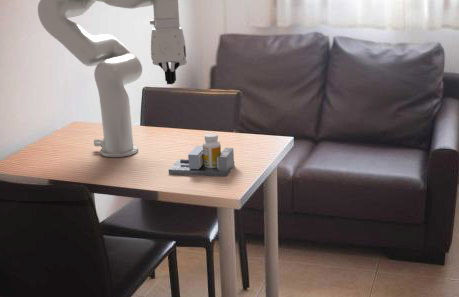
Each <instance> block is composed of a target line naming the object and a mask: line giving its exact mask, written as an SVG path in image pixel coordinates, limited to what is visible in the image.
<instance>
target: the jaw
mask: <svg viewBox="0 0 459 297" xmlns="http://www.w3.org/2000/svg"><path fill="white" fill-rule="evenodd" d="M187 156H188V157H187V159H188V160H182V159H183V158H180V159H181V160H180V163H185V164H189V169H199V168H200V167H201V166H202V165H203V164H204V160H203V145H196V146H195V147H194V148H193V149H191V151H190V152H189V153H188V154H187Z"/></svg>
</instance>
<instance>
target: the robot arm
mask: <svg viewBox="0 0 459 297" xmlns="http://www.w3.org/2000/svg"><path fill="white" fill-rule="evenodd" d="M96 2H102V3H104V4H106V5H108V6H111V7H116V8H123V9H132V10H133V9H138V8H139V9H140V8H144V7H150V6H153V19H150V20H149V24H150V25H153V28H152V29H151V36H150V37H151V39H150V57H151V61H152V65H154V66H157V67H158V66H159V67H160V68H161V69H162V71H163V72H164V80H165V82H166V85H174V84H175V83H176V80H177V74H176V73H177V72H176V70H177V69H178V68H179V67H181V66H184V65H186V64H187V63H188V61H187V48H186V47H187V46H186V41H185V40H186V39H185V36H184V31H183V27H180V13H179V12H180V11H179V7H180V6H179V0H39V2H38V4H37V16H38V19H39V22H40V24H41V26H42V27H43V28H44V29H45V30H46V32H47V33H48V34H49V35H50V36H52V37H53V38H54V39H56V41H58V43H60V44H62V45H63V47H64V48H66V49H67V51H69V52H70V53H71V54H72V55H73V56H74V57H75V58H76V59H77V60H78V61H79V62H81V63H82V64H83V65H84V66H86V67H95V68H94V76H93V77H94V81H95V83H96V86H97V91H98V96H99V105H100V113H101V123H102V124H101V125H102V134H103V138H102V139H99V138H95V139H94V140H93V146H94V147H100V150H99V153H100V155H101V156H103V157H106V158H123V157H124V158H125V157H129V156H133V155H135V154H136V153H138V152H139V146H138V145H136V144H134V139H133V127H132V115H131V105H130V98H129V94H128V93H127V91H126V89H125V85H128V84H132V83H134V82H137V81H138V80H139V79H140V78H141V77H142V75H143V65H142V63H141V61H140V59H139V58H138V57H137V56H136V55H135V54H134V52H132V51H131V49H129V48H128V47H127V46H125V45H124V44H123V43H122V42H121V41H120V40H119V39H118V38H116V37H115V36H114V35H111V34H107V33H103V34H102V33H101V34H98V35H92V34H90V33H89V32H88V31H86V30H85V29H84V28H83V27H82V26H81V25H80V24H78V23H76V22H74V21H72V20H70V19H69V18H75V17H79V16H82V15H83V14H85V13H86V12H87V11H88V10H89V9H90V8H91V7H92V6H93V5H94V4H95V3H96Z"/></svg>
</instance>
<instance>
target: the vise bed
mask: <svg viewBox="0 0 459 297" xmlns="http://www.w3.org/2000/svg"><path fill="white" fill-rule="evenodd" d="M234 153H235V152H234V147H225V148H223V149H222V150H221V153H220V154H219V155H218V157H217V168H206V167H205V166H204V164H203V165H202V166H201V167H200V168H199V169H189V164H185V163H180V160H181V159H182V160H188V158H186V159H185V158H178V159H177V160H176V161H175V163H173V164H172V165H171V166H170V167H169V168H168V175H178V176H179V175H181V176H200V177H202V176H203V177H219V178H221V177H224V178H226V177H228V176H229V174H230V173H231V172H232V170H233V169H234V167H235V158H234V157H235V156H234Z"/></svg>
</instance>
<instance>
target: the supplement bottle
mask: <svg viewBox="0 0 459 297" xmlns="http://www.w3.org/2000/svg"><path fill="white" fill-rule="evenodd" d="M218 139H219V134H218V133H214V132H212V133H206V134H204V141H203V142H202V146H203V160H204V166H205V167H206V168H217V157H218V155H219V154H220V153H221V152H222V149H221V146H222V145H221V142H220V141H219V140H218Z"/></svg>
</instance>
